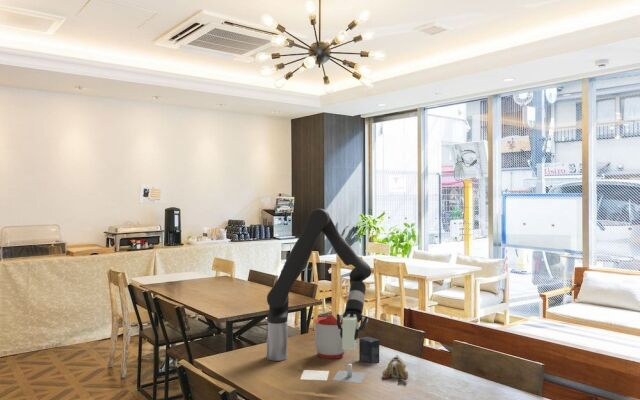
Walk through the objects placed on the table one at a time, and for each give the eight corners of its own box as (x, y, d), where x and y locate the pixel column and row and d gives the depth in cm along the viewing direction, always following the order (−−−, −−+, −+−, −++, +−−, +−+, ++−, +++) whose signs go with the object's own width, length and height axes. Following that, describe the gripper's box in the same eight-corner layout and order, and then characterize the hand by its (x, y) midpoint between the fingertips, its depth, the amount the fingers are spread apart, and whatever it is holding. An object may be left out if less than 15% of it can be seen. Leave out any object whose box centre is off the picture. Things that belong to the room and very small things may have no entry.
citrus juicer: (354, 353, 238) (354, 312, 238) (336, 363, 223) (336, 319, 223) (327, 348, 246) (327, 308, 246) (307, 357, 232) (308, 315, 232)
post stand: (332, 382, 200) (332, 367, 200) (339, 372, 211) (339, 358, 211) (360, 385, 197) (361, 370, 197) (366, 375, 208) (366, 361, 208)
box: (379, 362, 225) (379, 339, 225) (370, 365, 221) (371, 341, 221) (367, 358, 231) (367, 335, 231) (358, 360, 227) (358, 338, 227)
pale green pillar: (342, 349, 202) (342, 319, 202) (345, 345, 207) (345, 316, 207) (354, 350, 201) (354, 320, 201) (356, 347, 206) (357, 317, 206)
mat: (300, 381, 201) (300, 379, 201) (303, 372, 212) (303, 369, 212) (326, 382, 199) (326, 380, 199) (329, 373, 210) (329, 371, 210)
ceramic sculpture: (409, 352, 212) (407, 365, 198) (409, 371, 213) (407, 386, 198) (384, 350, 215) (381, 363, 200) (385, 370, 215) (381, 384, 200)
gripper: (337, 297, 213) (330, 332, 202) (370, 299, 209) (364, 335, 198) (340, 307, 218) (333, 341, 207) (372, 309, 214) (366, 344, 203)
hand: (348, 338), depth 202 cm, fingers closed on pale green pillar, 5 cm apart
